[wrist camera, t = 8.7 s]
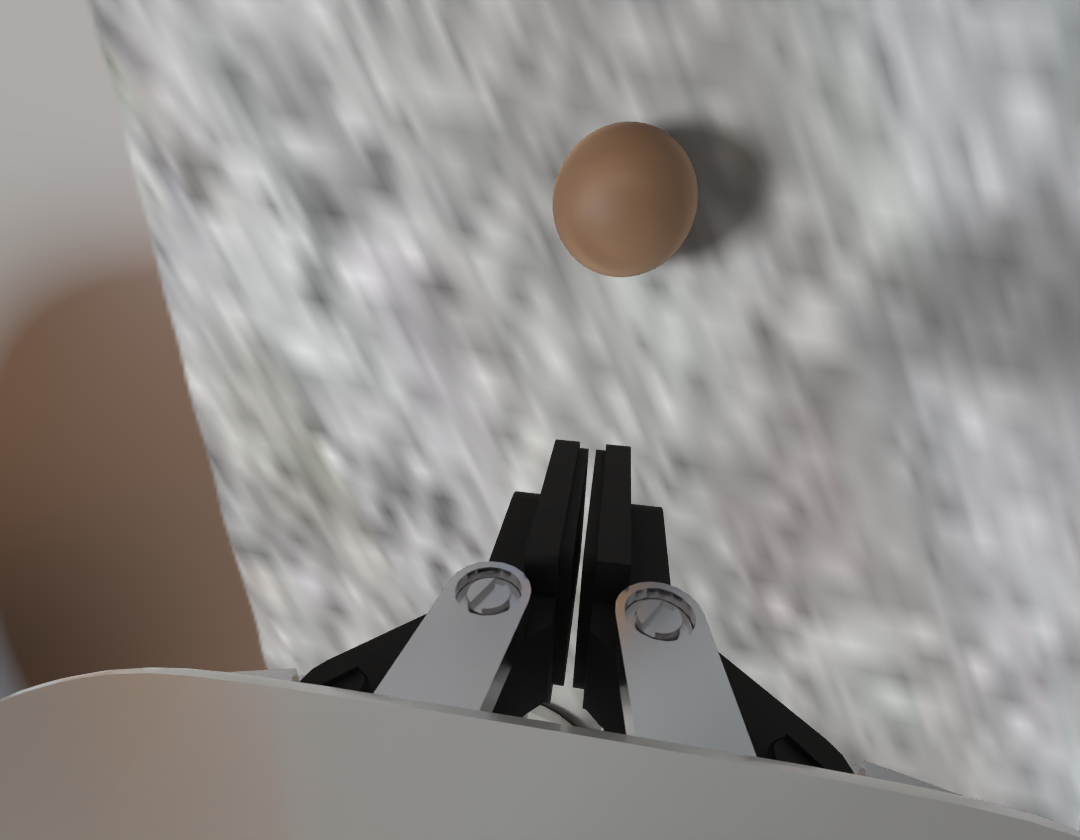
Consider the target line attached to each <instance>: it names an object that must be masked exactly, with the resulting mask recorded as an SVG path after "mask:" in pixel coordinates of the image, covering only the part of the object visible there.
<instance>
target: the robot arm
mask: <svg viewBox="0 0 1080 840" xmlns="http://www.w3.org/2000/svg"><path fill="white" fill-rule="evenodd" d="M588 452H589V449H584V448H580V442H576V441H566V440H556V441H555V444H554V448H553V451H552V455H551V459H550V462H549V466H548V469H547V473H546V476H545V480H544V484H543V487H542V491H541V494H535V493H526V492H517V491H516V492H514V494H513V497H512V499H511V502H510V505H509V508H508V510H507V513H506V516H505V519H504V521H503V524H502V527H501V530H500V532H499V535H498V538H497V541H496V543H495V546H494V549H493V552H492V554H491V557H490V560H489V562H479V563H476V564H473V565H469V566H467V567H465V568H463V569H462V570H460V571H458V572H457V573H456V574H455V575H454V576H453V577H452V578H451V579H450V580H449V582H448V583H447V585H446V586H445V588H444V589H443V591H442V592H441V594H440V595H439V597H438V598H437V600H436V601H435V603H434V604H433V606H432V607H431V609H430V610H429V612H428V613H427V614H425V615H423V616H421V617H419V618H417V619H415V620H413V621H410V622H408V623H406V624H404V625H402V626H400V627H398V628H395V629H393V630H391V631H389V632H387V633H385V634H383V635H380V636H378V637H376V638H374V639H372V640H370V641H368V642H366V643H363V644H361V645H359V646H357V647H355V648H353V649H351V650H348V651H346V652H344V653H342V654H340V655H338V656H336V657H333V658H331V659H329V660H327V661H325V662H324V663H322V664H320V665H319V666H317V667H315V668H314V669H312V670H311V671H310V672H309V673H308V674H307V675H303V676H298V674H297V670H296V669H278V670H260V671H242V672H218V671H207V670H198V669H188V668H137V669H121V670H107V671H101V672H96V673H90V674H84V675H78V676H73V677H67V678H63V679H59V680H55V681H51V682H47V683H44V684H40V685H37V686H34V687H31V688H28V689H25V690H21V691H19V692H17V693H14V694H12V695H10V696H7V697H5V698H3V699H0V840H1080V831H1077V830H1075V829H1072V828H1069V827H1067V826H1064V825H1061V824H1059V823H1056V822H1053V821H1051V820H1048V819H1045V818H1043V817H1040V816H1036V815H1033V814H1029V813H1026V812H1022V811H1019V810H1015V809H1012V808H1009V807H1005V806H1002V805H998V804H995V803H991V802H988V801H983V800H978V799H974V798H969V797H965V796H962V795H959V794H956V793H953V792H951V791H948V790H945V789H942V788H939V787H937V786H934V785H931V784H928V783H926V782H923V781H920V780H917V779H915V778H912V777H909V776H906V775H903V774H901V773H898V772H895V771H892V770H890V769H887V768H884V767H881V766H878V765H876V764H873V763H870V762H867V761H865V760H864V761H863V763H862V765H861V767H857V766H854V765H852V764H849V763H847V761H846V760H845V758H844V757H843V756H842V754H841V753H840V752H839V751H838V750H837V749H836V748H835V747H834V746H833V745H831V744H830V743H829V742H828V741H827V740H826V739H825V738H824V737H823V736H821V735H820V734H819V733H818V732H816V731H815V730H814V729H813V728H811V727H810V726H809V725H808V724H806V723H805V722H804V721H803V720H802V719H800V718H799V717H798V716H797V715H795V714H794V713H793V712H792V711H790V710H789V709H788V708H787V707H786V706H784V705H783V704H782V703H781V702H779V701H778V700H777V699H776V698H774V697H773V696H772V695H771V694H769V693H768V692H767V691H766V690H765V689H763V688H762V687H761V686H760V685H758V684H757V683H756V682H755V681H753V680H752V679H751V678H750V677H749V676H747V675H746V674H745V673H744V672H742V671H741V670H740V669H739V668H737V667H736V666H735V665H734V664H732V663H731V662H730V661H729V660H728V659H726V658H725V657H724V656H723V655H721V654H720V653H719V652H718V650H717V648H716V645H715V642H714V639H713V637H712V634H711V631H710V629H709V626H708V623H707V620H706V618H705V615H704V613H703V611H702V609H701V608H700V606H699V604H698V603H697V602H696V601H695V600H694V599H693V598H692V597H691V596H690V595H688V594H687V593H685V592H684V591H682V590H680V589H679V588H676V587H674V586H671V585H670V575H669V565H668V555H667V546H666V536H665V526H664V516H663V509H662V508H661V507H654V506H645V505H635V504H631V447H628V446H618V445H607V444H606V451H604V450H596V456H595V464H594V473H593V481H592V489H591V498H590V506H589V514H588V523H587V531H586V540H585V548H584V557H583V568H582V579H581V592H580V604H579V617H578V629H577V642H576V654H575V666H574V679H573V687H574V688H580V689H584V699H583V709H586V710H587V711H588V712H589V713H590V715H591V716H592V717H593V718H594V719H595V720H596V722H597V723H598V724H599V725H600V726H601V730H595V729H589V728H583V727H576V726H572V725H571V724H570V723H569V722H568V721H566V720H565V719H564V718H562V717H561V716H560V715H558V714H557V713H555V712H553V711H552V710H550V709H548V708H546V707H544V706H542V705H541V704H542V703H544V702H546V703H550V700H551V694H552V687H553V684H555V685H561V686H564V680H565V672H566V664H567V657H568V649H569V641H570V633H571V625H572V618H573V610H574V602H575V594H576V586H577V578H578V571H579V563H580V554H581V543H582V530H583V517H584V504H585V491H586V478H587V465H588Z"/></svg>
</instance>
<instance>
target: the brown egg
mask: <svg viewBox="0 0 1080 840" xmlns="http://www.w3.org/2000/svg"><path fill="white" fill-rule="evenodd" d="M697 205H698V186H697V179H696V175H695V171H694V168H693V166H692V163H691V161H690V159H689V157H688V155H687V154H686V152H685V150H684V149H683V148H682V147H681V145H680V144H679V143H678V142H677V141H676V140H675V139H674V138H673V137H672V136H670V135H669V134H667V133H666V132H665V131H663V130H661V129H659V128H657V127H655V126H652V125H648V124H645V123H639V122H620V123H615V124H611V125H608V126H605V127H602V128H600V129H598V130H596V131H594V132H592V133H591V134H589V135H588V136H586V137H585V138H584V139H583V140H581V141H580V142H579V143H578V144H577V145H576V146H575V147H574V148H573V150H572V151H571V152H570V154H569V155H568V156H567V158H566V159H565V161H564V163H563V165H562V167H561V169H560V171H559V174H558V176H557V179H556V183H555V187H554V194H553V214H554V221H555V225H556V229H557V232H558V234H559V236H560V239H561V240H562V242H563V244H564V246H565V247H566V249H567V250H568V251H569V253H570V254H571V255H572V256H573V257H574V258H575V259H576V260H577V261H578V262H579V263H581V264H582V265H583V266H585V267H587V268H588V269H590V270H592V271H594V272H597V273H600V274H603V275H607V276H613V277H630V276H635V275H640V274H643V273H646V272H648V271H650V270H653V269H655V268H656V267H658V266H660V265H661V264H663V263H664V262H665V261H667V260H668V259H669V258H670V257H671V256H672V255H673V254H674V253H675V252H676V251H677V250H678V249H679V247H680V246H681V245H682V244H683V242H684V241H685V239H686V237H687V236H688V234H689V231H690V229H691V227H692V224H693V222H694V218H695V215H696V210H697Z"/></svg>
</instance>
